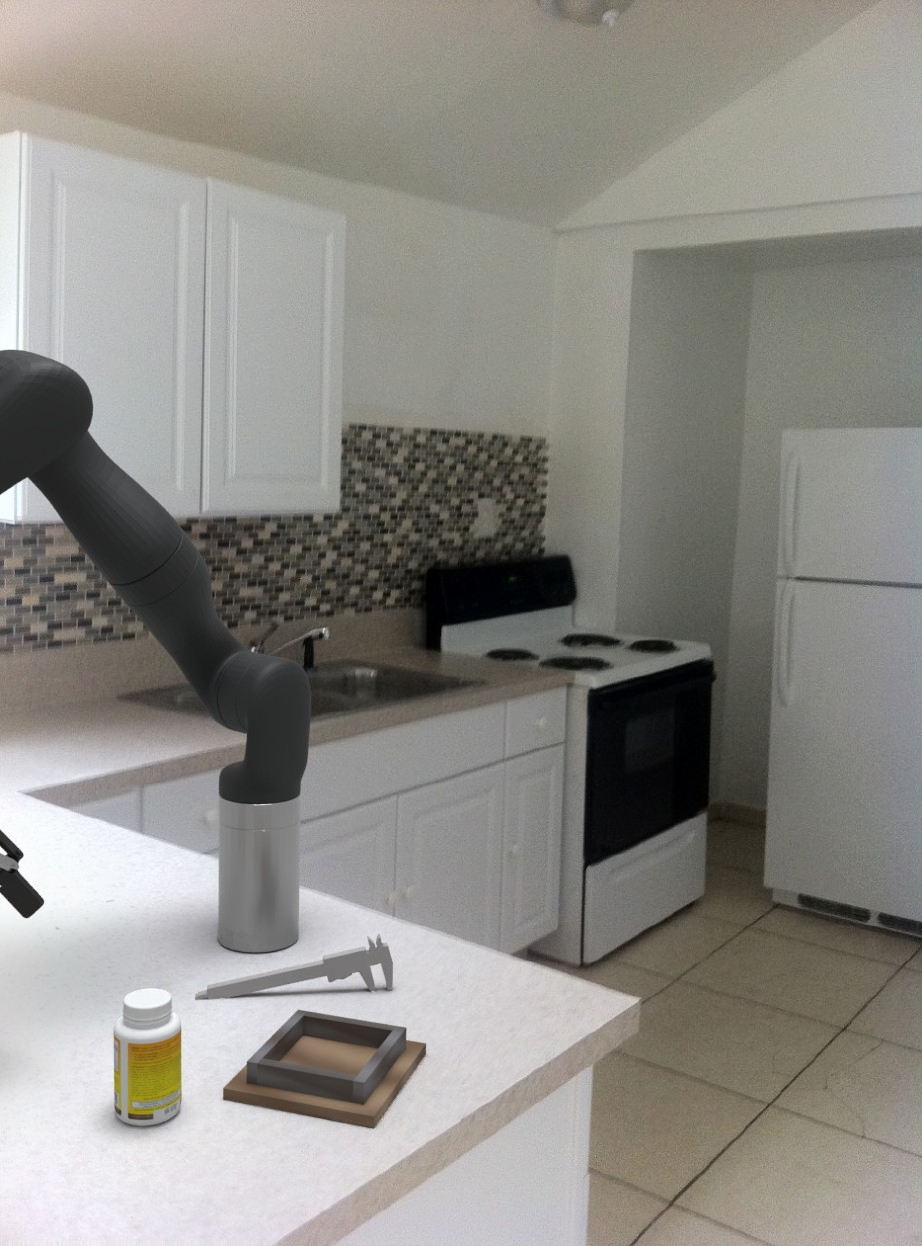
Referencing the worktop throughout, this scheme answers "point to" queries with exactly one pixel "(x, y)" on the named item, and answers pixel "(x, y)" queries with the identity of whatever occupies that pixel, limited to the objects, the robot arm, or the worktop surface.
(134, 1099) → the supplement bottle
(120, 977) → the worktop surface
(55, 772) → the worktop surface
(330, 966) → the caliper
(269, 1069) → the collar base
